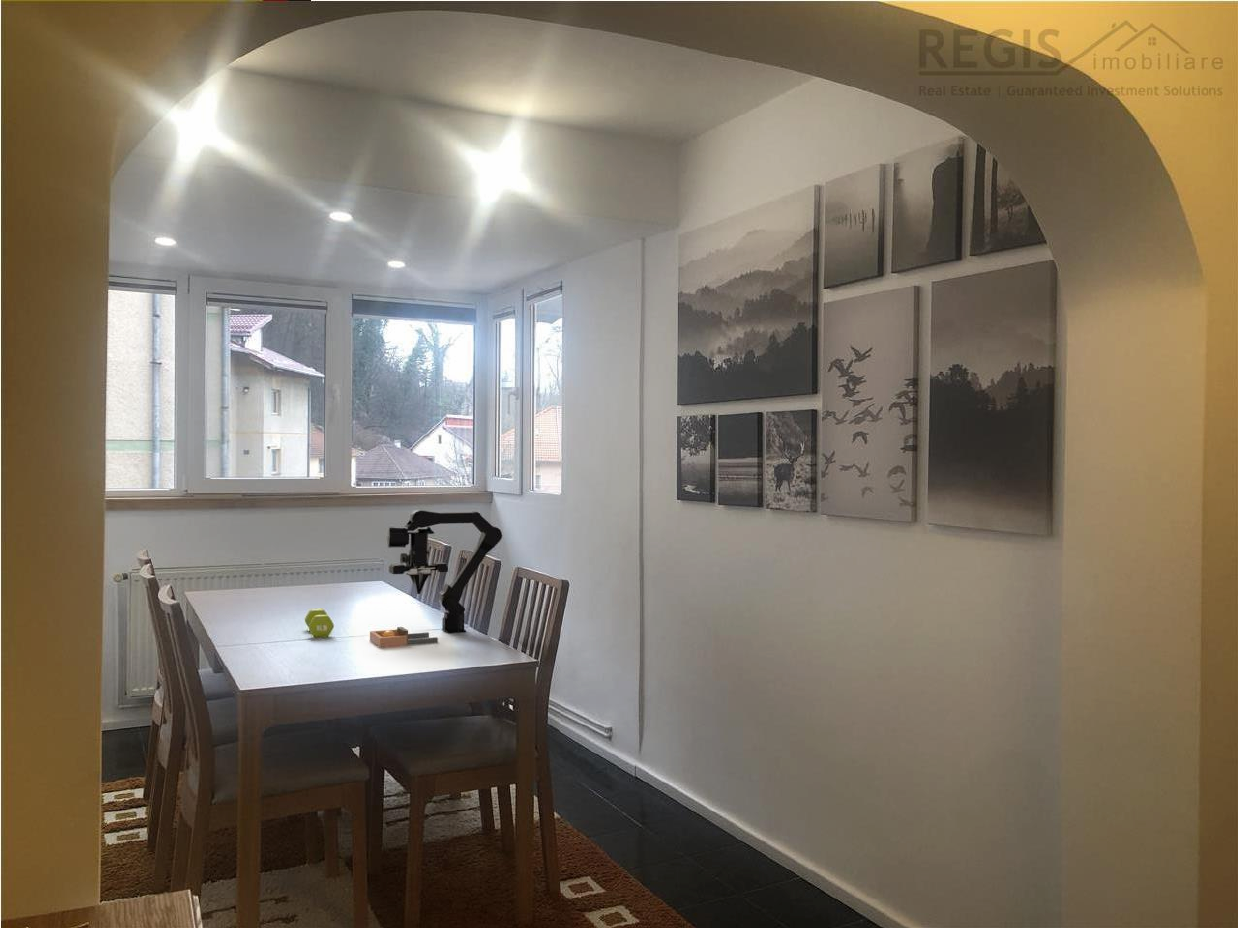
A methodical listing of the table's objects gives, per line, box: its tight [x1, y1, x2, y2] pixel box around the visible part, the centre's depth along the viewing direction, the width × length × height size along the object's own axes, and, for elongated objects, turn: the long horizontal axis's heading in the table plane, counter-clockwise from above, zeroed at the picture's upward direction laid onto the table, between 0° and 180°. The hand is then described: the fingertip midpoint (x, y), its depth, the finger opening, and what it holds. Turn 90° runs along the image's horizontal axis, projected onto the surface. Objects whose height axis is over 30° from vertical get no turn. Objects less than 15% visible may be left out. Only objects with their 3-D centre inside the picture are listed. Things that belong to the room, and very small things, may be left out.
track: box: [407, 631, 439, 646], centre depth 302 cm, size 10×10×2 cm
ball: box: [383, 629, 395, 637], centre depth 298 cm, size 4×4×4 cm
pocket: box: [369, 628, 408, 649], centre depth 298 cm, size 8×12×3 cm
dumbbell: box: [304, 608, 335, 639], centre depth 311 cm, size 16×8×7 cm, turn 23°
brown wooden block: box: [396, 626, 409, 640], centre depth 300 cm, size 2×7×4 cm, turn 29°
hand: (418, 593), depth 315 cm, fingers closed
